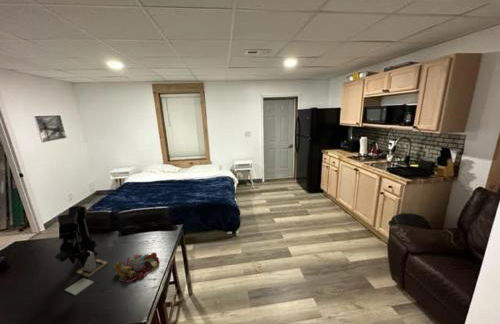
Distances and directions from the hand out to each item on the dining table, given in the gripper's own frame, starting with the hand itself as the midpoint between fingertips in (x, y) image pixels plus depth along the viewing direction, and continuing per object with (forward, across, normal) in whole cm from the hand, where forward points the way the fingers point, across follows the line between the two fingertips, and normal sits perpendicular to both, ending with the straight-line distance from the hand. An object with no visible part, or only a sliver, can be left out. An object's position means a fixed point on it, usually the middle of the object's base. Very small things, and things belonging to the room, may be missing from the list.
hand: (78, 265), depth 123 cm
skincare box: (+13, -8, +9) cm, 18 cm away
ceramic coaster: (+12, +2, -2) cm, 13 cm away
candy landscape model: (+13, +22, +21) cm, 33 cm away
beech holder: (+13, -7, +10) cm, 18 cm away
